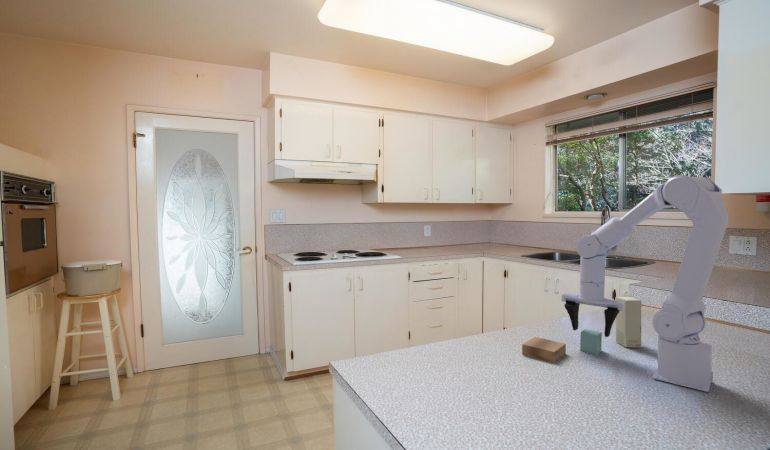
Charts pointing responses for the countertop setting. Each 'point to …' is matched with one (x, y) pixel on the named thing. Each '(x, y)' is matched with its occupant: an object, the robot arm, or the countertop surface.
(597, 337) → the teal block
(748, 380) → the countertop surface
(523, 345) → the tan wooden block
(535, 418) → the countertop surface
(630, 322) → the box
